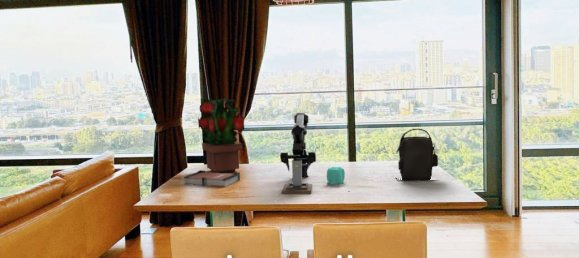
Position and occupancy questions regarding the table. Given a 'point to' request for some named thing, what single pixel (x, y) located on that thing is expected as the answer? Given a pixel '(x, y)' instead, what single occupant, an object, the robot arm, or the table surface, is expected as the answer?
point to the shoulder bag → (416, 157)
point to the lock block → (297, 173)
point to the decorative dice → (335, 175)
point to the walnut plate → (297, 189)
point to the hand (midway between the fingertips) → (297, 170)
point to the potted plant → (221, 134)
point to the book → (212, 178)
